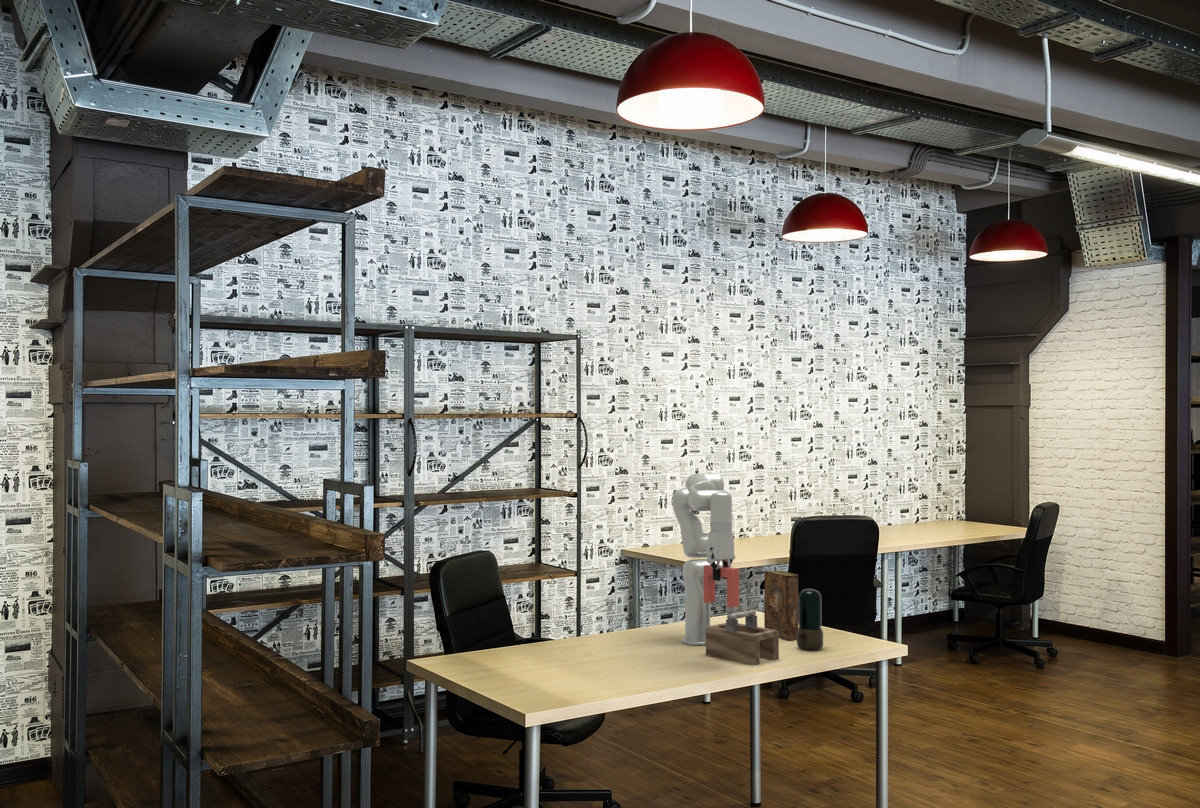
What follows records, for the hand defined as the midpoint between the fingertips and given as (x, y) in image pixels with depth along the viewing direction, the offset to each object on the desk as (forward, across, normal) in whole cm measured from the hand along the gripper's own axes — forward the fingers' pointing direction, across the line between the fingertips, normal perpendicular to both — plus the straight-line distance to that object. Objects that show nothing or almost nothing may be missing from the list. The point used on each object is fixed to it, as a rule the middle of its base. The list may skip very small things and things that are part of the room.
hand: (721, 579), depth 350 cm
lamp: (+29, -40, +8) cm, 51 cm away
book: (+30, -50, -12) cm, 59 cm away
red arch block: (+9, 0, 0) cm, 9 cm away
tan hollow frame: (+29, -11, 0) cm, 31 cm away
